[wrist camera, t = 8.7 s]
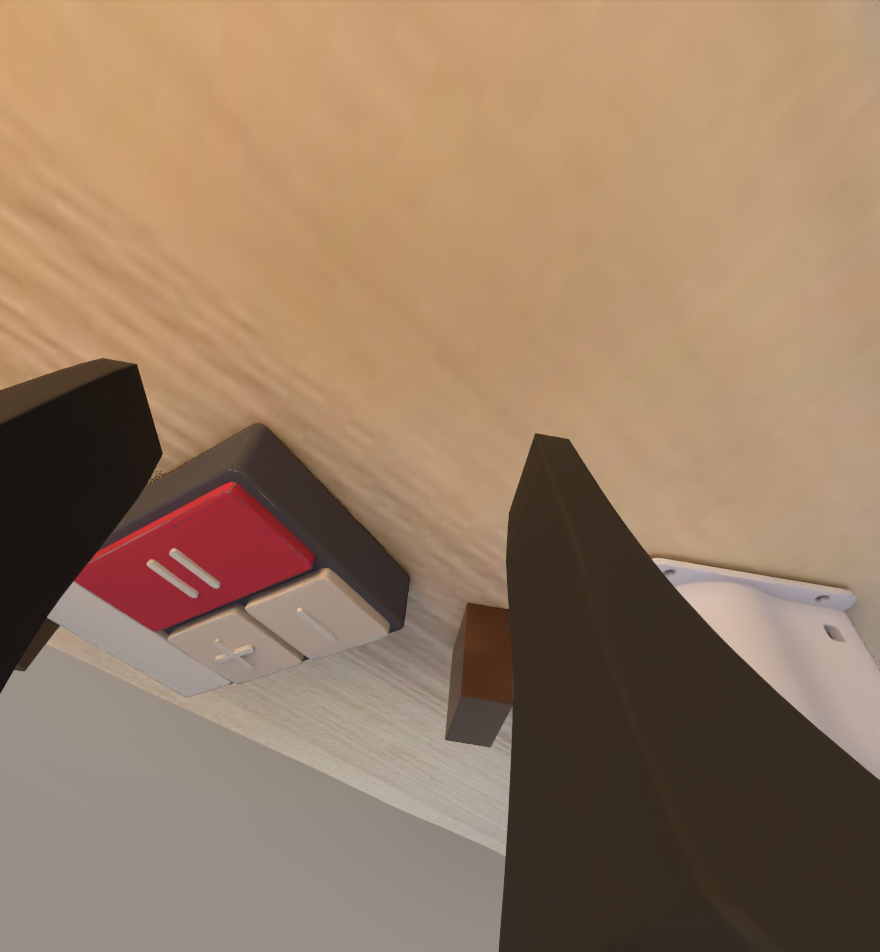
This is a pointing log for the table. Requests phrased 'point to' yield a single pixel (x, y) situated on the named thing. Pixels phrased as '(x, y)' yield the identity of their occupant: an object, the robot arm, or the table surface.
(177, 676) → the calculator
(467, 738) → the corner blocks
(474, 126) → the table surface
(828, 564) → the table surface
